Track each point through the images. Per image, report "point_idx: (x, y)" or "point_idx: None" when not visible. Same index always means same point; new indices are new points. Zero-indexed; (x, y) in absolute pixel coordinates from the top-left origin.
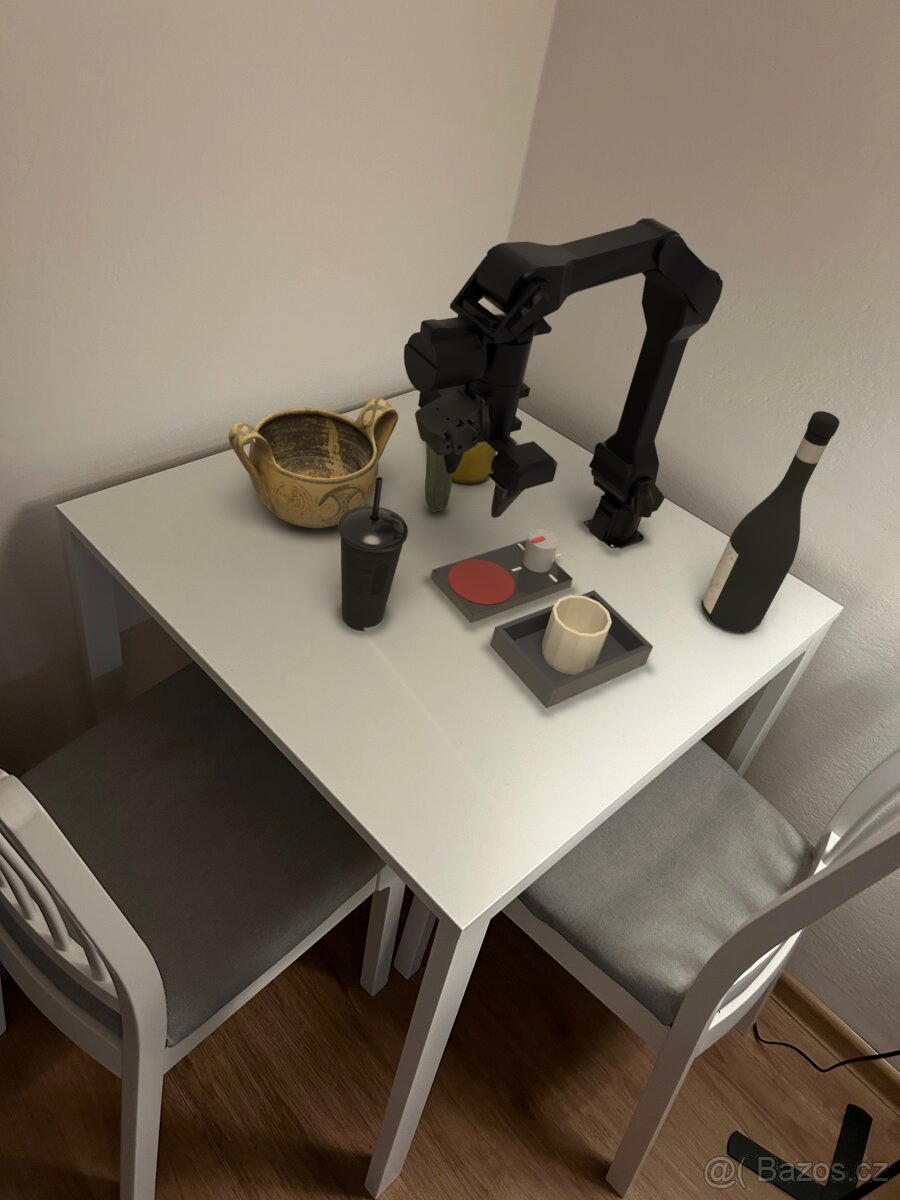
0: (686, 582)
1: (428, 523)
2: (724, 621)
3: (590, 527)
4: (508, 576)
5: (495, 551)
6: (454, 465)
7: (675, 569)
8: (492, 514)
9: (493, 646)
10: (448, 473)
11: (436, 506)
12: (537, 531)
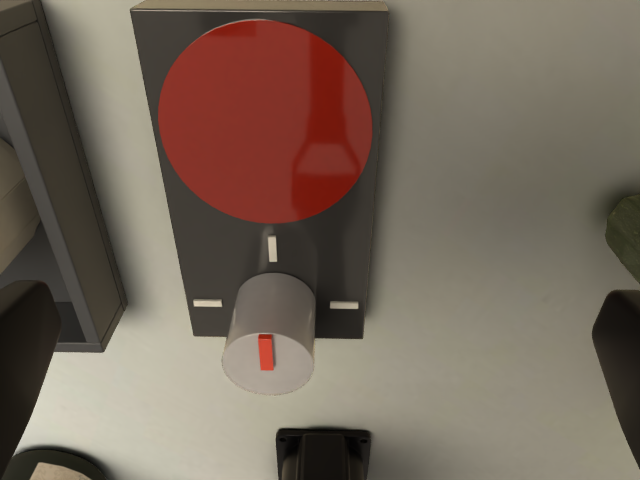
0: (155, 470)
1: (600, 159)
2: (8, 469)
3: (340, 441)
4: (254, 214)
5: (363, 242)
6: (627, 371)
7: (192, 475)
8: (8, 293)
9: (12, 1)
10: (612, 291)
11: (624, 208)
12: (303, 369)
